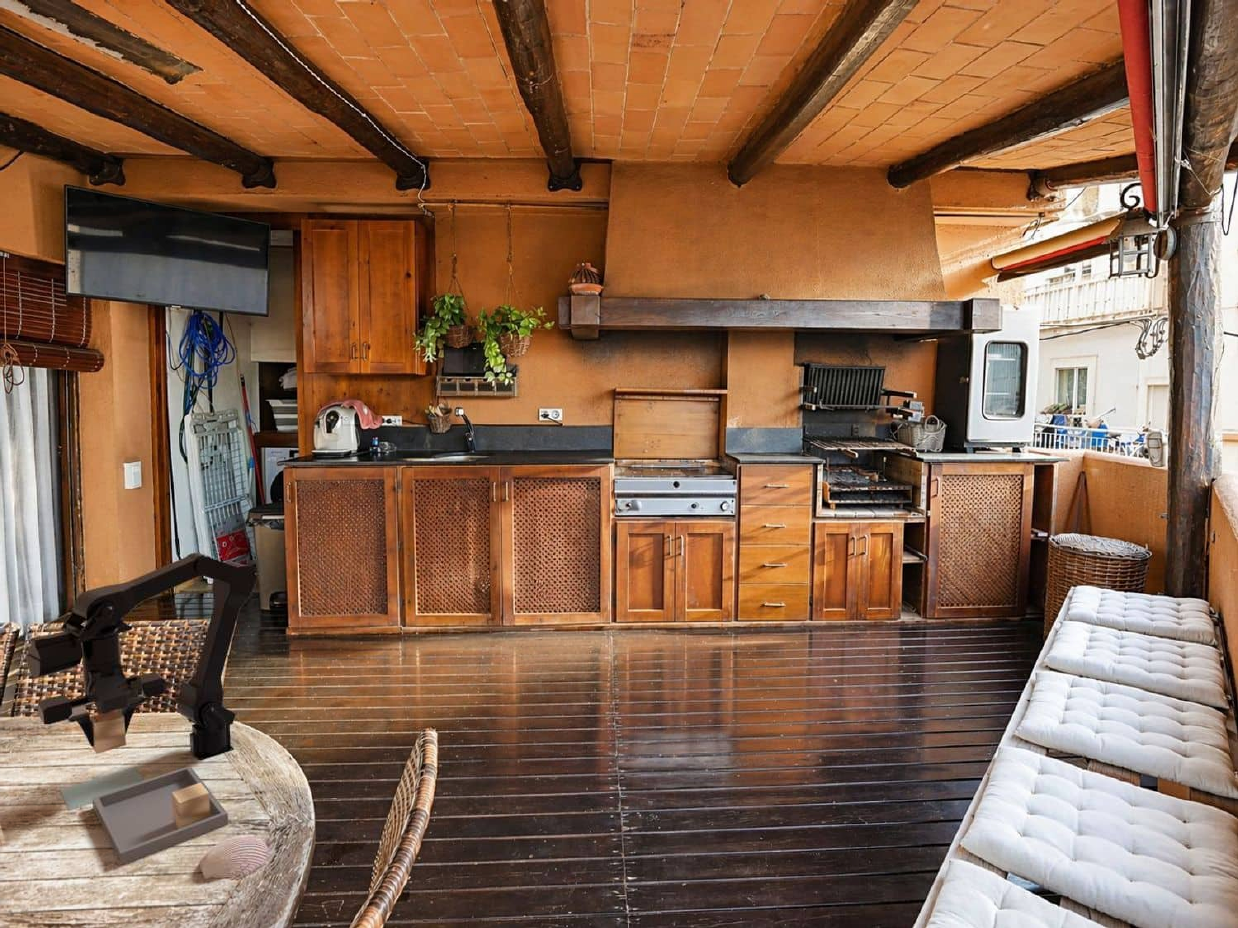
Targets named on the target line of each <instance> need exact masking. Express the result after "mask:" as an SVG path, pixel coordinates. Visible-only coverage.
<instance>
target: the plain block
mask: <svg viewBox="0 0 1238 928" xmlns="http://www.w3.org/2000/svg"><path fill="white" fill-rule="evenodd" d="M172 803H173V819H174V824H175V825H176V827H177V828H178V829H180V828H183V827H186V826H188V825H191V824H194V823H196V822H199V821H202V820H204V819H207V818H210V805H209V792H208V791H207V790H206V789H205V787H204V786H203V785H202V783H198V784H195V785H192V786H189V787H186V788H183V789H180V790H178V791H175V792H172Z"/></svg>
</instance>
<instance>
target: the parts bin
mask: <svg viewBox="0 0 1238 928" xmlns="http://www.w3.org/2000/svg"><path fill="white" fill-rule="evenodd" d="M198 783H202V785H203V786H204V787H205V789H206V790H207V791H208V792H209V805H210V818H207V819H204V820H202V821H199V822H196V823H194V824H191V825H188V826H186V827H183V828H180V829H178V828H177V827H176V825H175V824H174V819H173V803H172V792H175V791H178V790H180V789H183V788H186V787H189V786H192V785H195V784H198ZM92 799H93V803H92V810H93V811H94V814H95V815H96V817H97V819H98V821H99V823H100V825H101V828H102V829H103V831H104V833H105V836H106V838H107V840H108V841H109V843H110V846H111V848H112V850H113V852H114V854H115V855H116V858H117V860H118V862H119V864H120V865H121V866H122V867H123V866H124V865H125V866H126V865H128V864H129V863H132V862H135V861H137V860H140V859H143V858H145V857H148V856H150V855H154V854H155V853H159V852H161V851H163V850H166V849H168V848H171V847H173V846H174V847H175V846H176V845H179V844H181V843H184V842H186V841H190V840H191V839H194V838H196V837H200V836H201V835H204V834H207V833H210V832H212V831H214V830H217V829H220V828H223V827H226V826H228V825H229V813H228V811H226V809H225V808H224V807H223V805H222V804H221V803H220V801H219V800H218V799H217V798H216V796H215V795H214V794H213V793H212V791H211V790H210V789H209V788H208V787H207V785H206V784H205V782H204V781H203V780H202V779H201V778H200V776H199V775H198V774H197V773H196V771H195V770H194V769H193V767H192V766H191V765H190V766H189V765H188V766H186V767H182V768H180V769H176V770H173V771H170V772H168V773H167V772H166V773H164V774H161V775H158V776H155V777H152V778H149V779H146V780H145V779H144V781H142V782H139V783H136V784H133V785H130V786H127V787H124V788H121V789H118V790H115V791H111V792H108V793H105V794H102V795H99V796H96V797H93V798H92Z"/></svg>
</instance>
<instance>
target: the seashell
mask: <svg viewBox="0 0 1238 928" xmlns="http://www.w3.org/2000/svg"><path fill="white" fill-rule="evenodd" d="M269 854H270V853H269V847H268V845H267V844H266V843H265V842H264V841H262V840H260V839H258V838H255V837H252V836H245V835H243V836H240V835H239V836H234V837H230V838H227V839H224V840H222V841H220V842H218V843H216V844H215V845H214V846H212V847H211V848H210V849H209V850H208V851H207V852H206V854H205V855H204V856H203V858H202V859H201V860H200V863H199V864H198V866H199V870H201V872H202V876H203V878H204V880H205V879H206V880H209V879H212V878H213V879H214V878H215V879H218V878H219V879H225V878H230V880H231V881H234V880H237V878H239V879H241V878H244V876H245V877H247V876H249V875H252V874H253V873H255V872H257V870H260V868H263V867H264V866H265V865H267V864H266V863H265V861H266V860H267V859H268V858H267V857H268V856H269ZM264 863H265V864H264Z"/></svg>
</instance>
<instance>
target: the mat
mask: <svg viewBox="0 0 1238 928" xmlns="http://www.w3.org/2000/svg"><path fill="white" fill-rule="evenodd" d="M142 781H145V779H144V778H143V776H142V775H141V773H140V771H139V769H138V768H137V767H136V766H133V767H130V768H126V769H123V770H120V771H117V772H113V773H110V774H107V775H104V776H100V777H97V778H95V779H91V780H87V781H84V782H82V783H77V784H75V785H71V786H68V787H65V788H62V789H60V790H59V792H60V794H61V796H62V798H63V800H64V803H65V805H66V807H67V810H68V811H73V810H76V809H78V808H81V807H85V806H87V805H90V804H93V799H92V798H93V797H96V796H99V795H102V794H105V793H108V792H111V791H115V790H118V789H121V788H124V787H127V786H130V785H133V784H136V783H139V782H142Z"/></svg>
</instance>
